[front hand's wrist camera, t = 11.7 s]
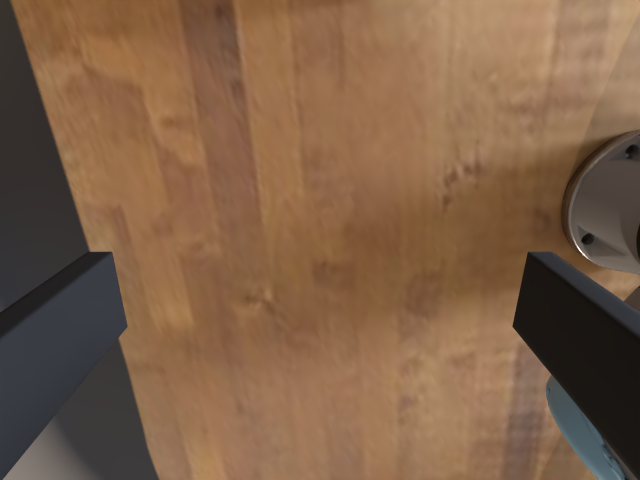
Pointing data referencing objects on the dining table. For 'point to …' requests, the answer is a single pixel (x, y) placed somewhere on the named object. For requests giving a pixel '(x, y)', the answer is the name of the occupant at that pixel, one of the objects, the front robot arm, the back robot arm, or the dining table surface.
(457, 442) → the dining table surface
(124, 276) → the dining table surface
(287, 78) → the dining table surface
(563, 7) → the dining table surface
